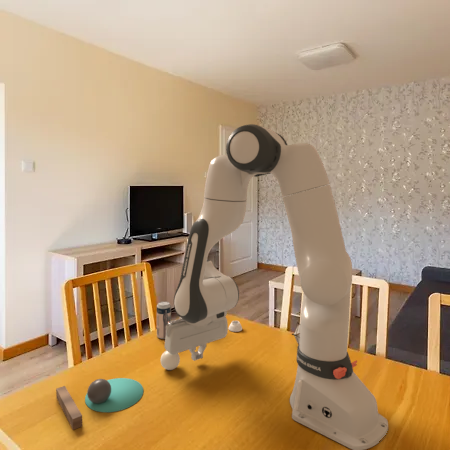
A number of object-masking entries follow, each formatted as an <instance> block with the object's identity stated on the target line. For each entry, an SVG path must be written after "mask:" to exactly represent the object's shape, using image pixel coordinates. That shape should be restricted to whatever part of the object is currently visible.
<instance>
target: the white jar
mask: <svg viewBox="0 0 450 450" xmlns="http://www.w3.org/2000/svg"><path fill="white" fill-rule="evenodd" d="M228 330H229V331H230V332H233V333H237V332H241V331H242V330H243V327H242V323H240V321H239V320H232V321H231V323H230V324H229V326H228Z"/></svg>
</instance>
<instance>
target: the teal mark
mask: <svg viewBox="0 0 450 450" xmlns="http://www.w3.org/2000/svg"><path fill="white" fill-rule="evenodd" d="M106 380H107V381H108V382H109V383H110V385H111V394H110V397H109V398H108V399H107V400H106V401H105V402H103V403H101V404H95V403H92V402H91V401H90V400H89V398H88V395H87V393H86V395H85V398H84V401H85V402H84V403H85V405H86V406H87V407H88V408H89V409H90V410H91V411H95V412H97V413H98V412H100V413H114V412H120V411H123V410H126V409H128V408H130V407H132V406H134V405H135V404H137V403H138V402H139V401H140V400H141V398H142V397H143V395H144V386H143V385H142V384H141V382H139V381H137V380H135V379H133V378H126V377H118V378H111V379H106Z"/></svg>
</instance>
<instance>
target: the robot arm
mask: <svg viewBox="0 0 450 450" xmlns="http://www.w3.org/2000/svg"><path fill="white" fill-rule="evenodd" d="M225 152H226V154H220V155H217V156H216V157H214V158H213V159H211V161H210V163H209V165H208V169H207V172H206V173H207V174H206V178H205V184H204V191H203V192H204V193H203V204H202V207H201V210H200V213H199V215H198V218H197V219H196V221H194V222H193V223H192V225H191V228H190V230H189V234H188V237H187V242H186V248H185V252H184V253H185V254H184V257H183V262H182V269H181V274H180V277H179V280H178V281H179V282H178V284H177V287H176V289H175V292H174V297H173V307H174V311H175V312H176V314H177V315H178V317H179V318H177V319H171V321H170V323H169V324H168V325H167V326H166V337H165V339H164V349H165V351H168V352H169V353H170V354H172V355H173V354H176V353H178V354H179V353H181V352H184V351H189V352H190V353H191V360H192V361H194V362H195V361H197V360H200V359H203V357H204V352H205V350H206V348H207V344H209V343H212V342H215V341H218V340H221V339H224V338H226V336H227V334H228V330H229V329H228V328H229V326H228V318H227V314H228V311H229V310H232V309H234V308H235V307H236V306H237V305H238V303H239V299H240V290H239V286H238V284H237V282H236V280H234V279H233V278H232V277H231V276H229V275H225V274H224V273H222V272H221V271H220V270H218V269H217V268H216V266H214V264H213V261H212V260H210V259H208V256H209V254H210V251H211V250H212V248H213V247H214V246H215V245H216V244H217V243H218V242H220V241H221V240H222V239H223V238H226V236H229V235H230V234H233V233H234V232H235V231H237V229H239V227H241V225H242V224H243V222H244V219H245V217H246V212H247V199H248V188H249V187H248V186H249V184H250V181H251V179H253V177H254V178H257V177H261V176H265V175H270V174H272V175H273V176H274V177H275V179H276V180H277V182H278V185H279V188H280V193H281V197H282V201H283V204H284V208H285V212H286V215H287V216H286V217H287V219H288V222H289V226H290V227H289V228H290V231H291V237H292V243H293V244H292V245H293V250H294V251H293V252H294V258H295V261H296V262H295V263H296V269H297V272H298V277H299V283H300V287H301V290H302V293H303V295H302V302H301V312H300V319H299V320H300V322H299V324H300V340H299V345H298V344H297V349H296V364H297V369H296V374H295V381H294V386H293V389H292V392H291V394H290V398H289V404H290V406H291V411H292V412H291V418H292V420H293V421H295V422H296V423H299V424H301V425H303V426H305V427H307V428H309V429H311V430H313V431H315V432H316V433H318V434H321V435H323V436H324V437H327V438H328V439H330V440H333V441H335V443H339V444H341V445H342V446H344V447H347V448H348V449H350V450H367V449H368V450H369V449H370V448H373V447H374V446H376V445H378V444H379V443H380V442H381V441H382V440H383V439H384V438H385V437H386V436H385V435H387V434H386V433H388V432H387V431H389V422H388V419H387V418H386V417H385V416H383V415H382V414H380V413H379V411H378V410H379V409H378V408H379V407H378V403H377V398H376V396H375V395H374V394H373V393H372V392H371V390H369V388H368V387H367V386H366V385H365V383H364V382H363V381H362V380H361V379H360V378H359V376H358V375H357V374H356V373H355V372H354V368H355V367H356V366H358V364H357V363H358V360H356V359H355V361H352V360H351V358H350V355H349V351H348V340H349V326H350V324H349V323H350V310H351V308H350V306H351V289H352V283H353V262H352V259H351V257H350V255H349V253H348V251H347V250H346V246H345V240H344V237H343V231H342V228H341V224H340V223H341V222H340V217H339V215H338V209H337V206H336V203H335V198H334V196H333V192H332V188H331V184H330V180H329V177H328V174H327V170H326V168H325V166H324V162H323V161H322V158H321V157H320V154H319V152H318V150H317V149H316V148H315V147H314V145H312V144H310V143H306V142H296V143H292V144H288V143H287V141H286V140H285V138H284V137H283V136H282V135H281V134H279V133H277V132H275V131H274V130H273V129H270V128H268V127H265V126H261V125H258V124H253V123H251V124H244V125H240V126H239V127H237V128H236V129H234V130H233V131H232V132H231V133H230V135H229V136H228V138H227V141H226V146H225ZM180 317H181V318H180ZM197 347H198V349H197ZM196 350H197V351H196ZM384 436H385V437H384ZM383 437H384V438H383ZM382 438H383V439H382ZM381 439H382V440H381ZM380 440H381V441H380ZM379 441H380V442H379Z"/></svg>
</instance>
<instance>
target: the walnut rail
mask: <svg viewBox="0 0 450 450" xmlns="http://www.w3.org/2000/svg"><path fill="white" fill-rule="evenodd" d="M55 391H56V392H55V393H56V394H55V395H56V397H55V398H56V400H57V401H58V402H57V403H58V404H59V406H60V407H61V410H62V411H63V413H64V415H65V417H66V420H67V421H68V424H69V425H70V427H71V429H72V430H73V431H74V430H77V429H79V428H81V427H83V414H82V413H81V411H80V409H79V407H78V405H77V403H76V402H75V400H74V399H73V397H72V396H71V394H70V392H69V390H68V389H67V387H66V386H65V385H63V386H60V387H56V390H55Z"/></svg>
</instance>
